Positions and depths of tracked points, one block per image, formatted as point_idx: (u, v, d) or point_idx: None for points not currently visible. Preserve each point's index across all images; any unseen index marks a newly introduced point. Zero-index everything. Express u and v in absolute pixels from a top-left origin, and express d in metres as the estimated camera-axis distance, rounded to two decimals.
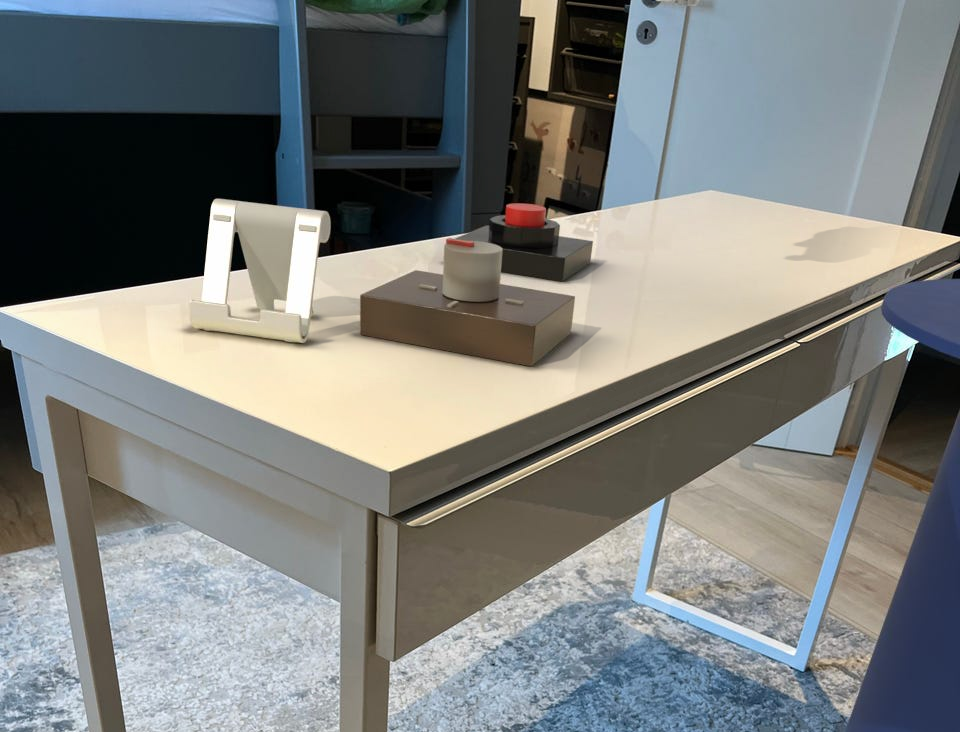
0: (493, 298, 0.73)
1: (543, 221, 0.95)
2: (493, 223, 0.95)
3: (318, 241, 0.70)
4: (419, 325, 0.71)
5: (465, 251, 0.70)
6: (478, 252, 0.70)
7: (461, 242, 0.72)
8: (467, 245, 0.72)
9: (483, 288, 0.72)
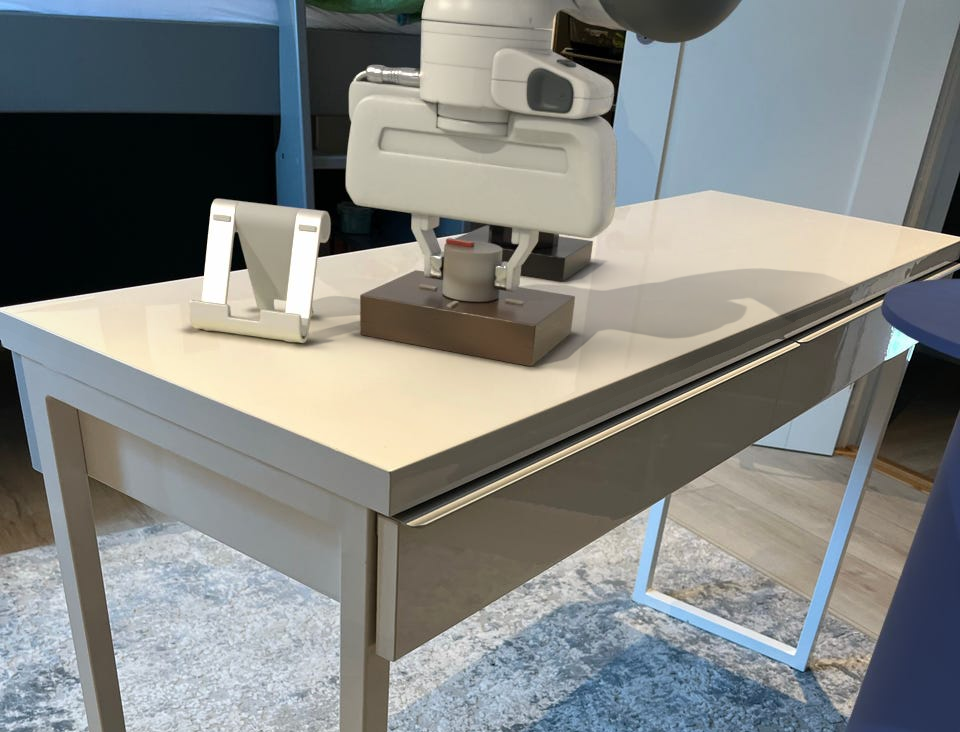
0: (493, 298, 0.73)
1: None
2: None
3: (318, 241, 0.70)
4: (419, 325, 0.71)
5: (465, 251, 0.70)
6: (478, 252, 0.70)
7: (461, 242, 0.72)
8: (467, 245, 0.72)
9: (483, 288, 0.72)
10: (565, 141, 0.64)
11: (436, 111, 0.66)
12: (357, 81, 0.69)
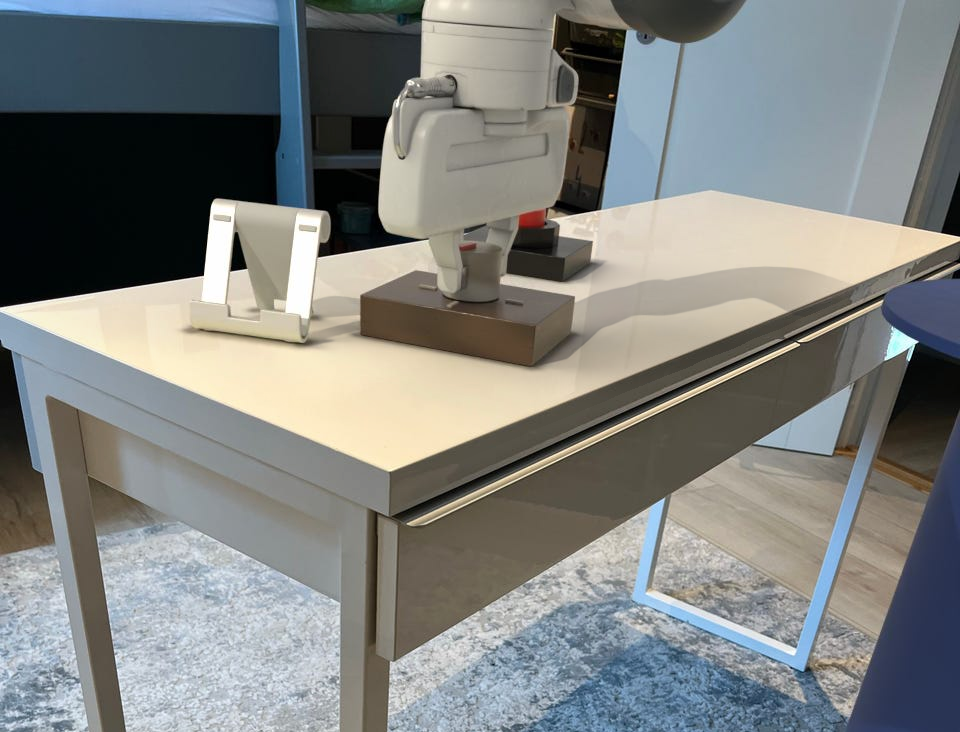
0: None
1: (543, 221, 0.95)
2: None
3: (318, 241, 0.70)
4: (419, 325, 0.71)
5: (496, 251, 0.71)
6: (499, 248, 0.72)
7: (470, 245, 0.71)
8: (474, 246, 0.71)
9: None
10: (553, 126, 0.72)
11: (483, 118, 0.64)
12: (406, 99, 0.59)
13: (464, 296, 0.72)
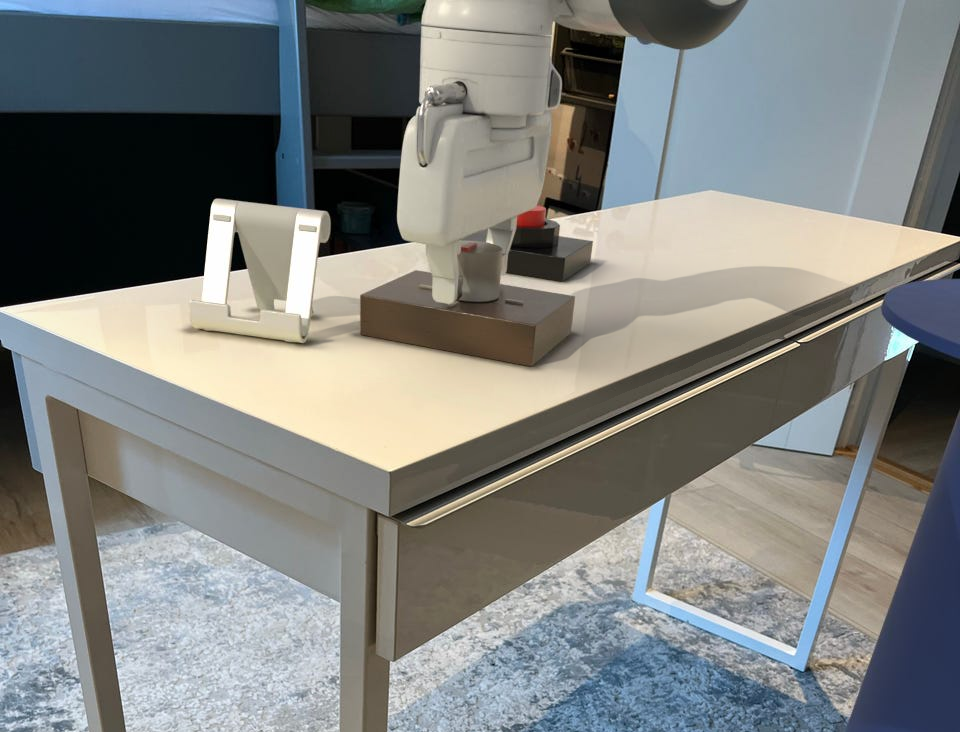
0: None
1: (543, 221, 0.95)
2: None
3: (318, 241, 0.70)
4: (419, 325, 0.71)
5: (498, 250, 0.71)
6: (498, 247, 0.72)
7: (473, 246, 0.71)
8: (475, 247, 0.71)
9: None
10: (539, 129, 0.73)
11: (490, 124, 0.65)
12: (429, 107, 0.59)
13: (471, 297, 0.72)
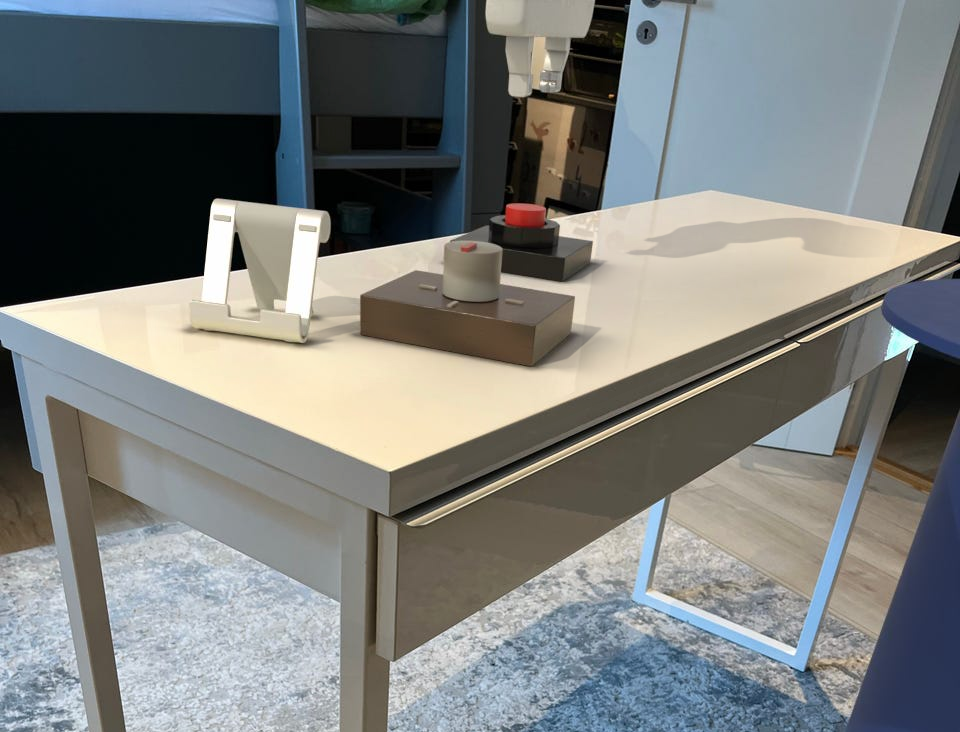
0: None
1: (543, 221, 0.95)
2: (493, 223, 0.95)
3: (318, 241, 0.70)
4: (419, 325, 0.71)
5: (498, 250, 0.71)
6: (498, 247, 0.72)
7: (473, 246, 0.71)
8: (475, 247, 0.71)
9: None
10: None
11: None
12: None
13: (471, 297, 0.72)
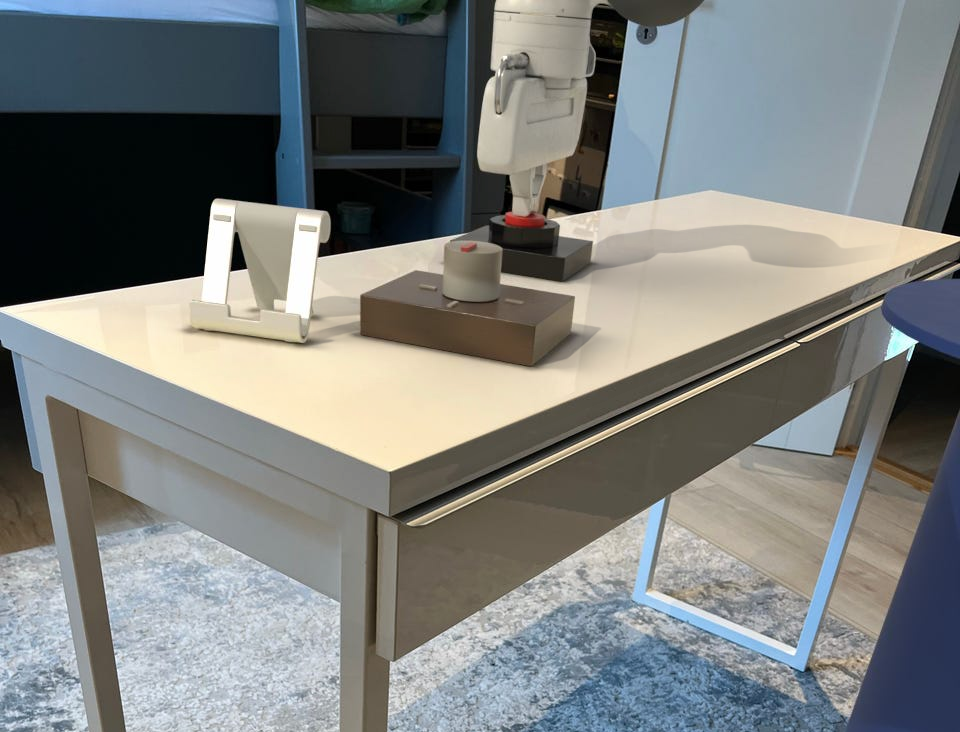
0: None
1: None
2: (493, 223, 0.95)
3: (318, 241, 0.70)
4: (419, 325, 0.71)
5: (498, 250, 0.71)
6: (498, 247, 0.72)
7: (473, 246, 0.71)
8: (475, 247, 0.71)
9: None
10: (577, 92, 0.95)
11: (545, 85, 0.87)
12: (504, 70, 0.81)
13: (471, 297, 0.72)
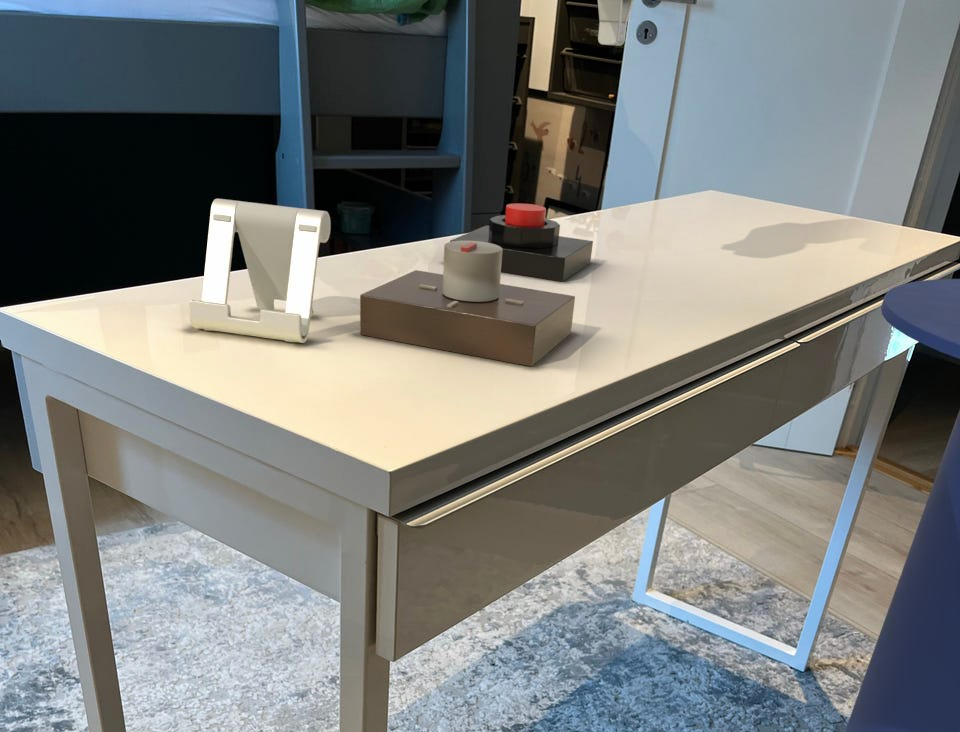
0: None
1: (543, 221, 0.95)
2: (493, 223, 0.95)
3: (318, 241, 0.70)
4: (419, 325, 0.71)
5: (498, 250, 0.71)
6: (498, 247, 0.72)
7: (473, 246, 0.71)
8: (475, 247, 0.71)
9: None
10: None
11: None
12: None
13: (471, 297, 0.72)
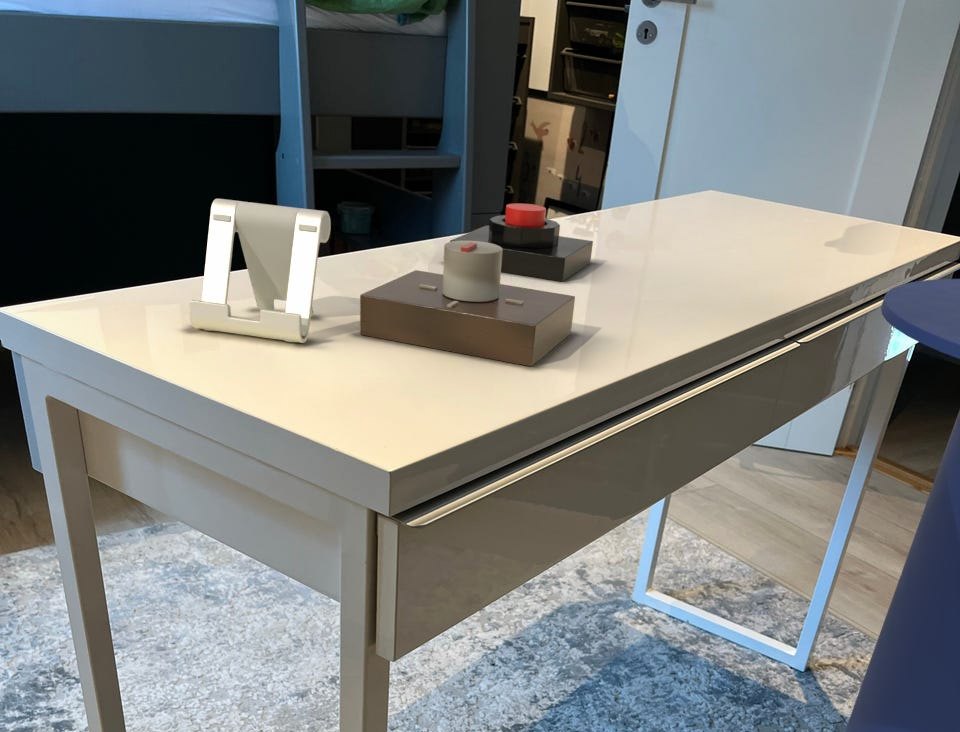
0: None
1: (543, 221, 0.95)
2: (493, 223, 0.95)
3: (318, 241, 0.70)
4: (419, 325, 0.71)
5: (498, 250, 0.71)
6: (498, 247, 0.72)
7: (473, 246, 0.71)
8: (475, 247, 0.71)
9: None
10: None
11: None
12: None
13: (471, 297, 0.72)
